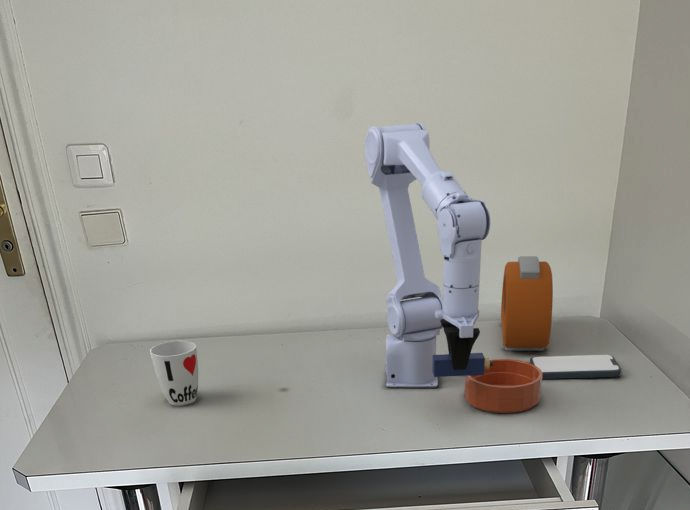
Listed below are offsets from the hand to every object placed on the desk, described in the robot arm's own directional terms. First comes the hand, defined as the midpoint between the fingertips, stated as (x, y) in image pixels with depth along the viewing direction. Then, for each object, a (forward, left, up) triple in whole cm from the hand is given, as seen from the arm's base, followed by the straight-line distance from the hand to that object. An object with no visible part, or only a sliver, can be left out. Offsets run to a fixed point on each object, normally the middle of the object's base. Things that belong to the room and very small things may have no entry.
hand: (458, 365), depth 122 cm
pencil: (0, 0, -1) cm, 1 cm away
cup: (-50, +4, -9) cm, 51 cm away
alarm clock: (+15, +38, -9) cm, 41 cm away
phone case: (+23, +19, -9) cm, 31 cm away
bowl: (+8, +5, -8) cm, 13 cm away
